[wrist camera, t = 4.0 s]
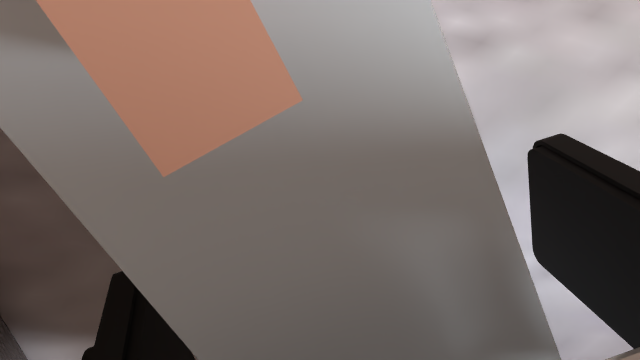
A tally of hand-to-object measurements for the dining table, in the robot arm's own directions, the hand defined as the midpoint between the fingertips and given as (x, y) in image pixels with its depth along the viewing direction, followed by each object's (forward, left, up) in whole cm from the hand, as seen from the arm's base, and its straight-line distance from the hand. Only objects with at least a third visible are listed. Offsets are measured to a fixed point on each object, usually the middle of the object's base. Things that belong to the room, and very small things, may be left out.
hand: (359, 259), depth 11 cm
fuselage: (0, 0, -2) cm, 2 cm away
